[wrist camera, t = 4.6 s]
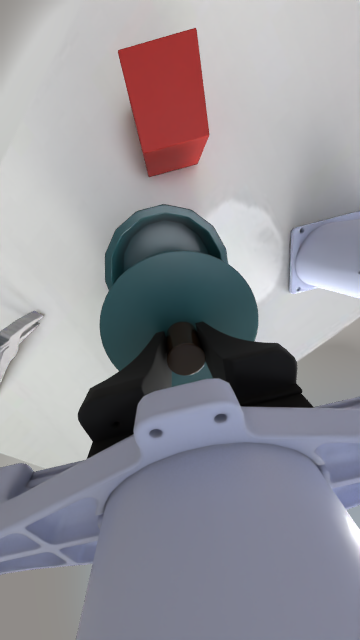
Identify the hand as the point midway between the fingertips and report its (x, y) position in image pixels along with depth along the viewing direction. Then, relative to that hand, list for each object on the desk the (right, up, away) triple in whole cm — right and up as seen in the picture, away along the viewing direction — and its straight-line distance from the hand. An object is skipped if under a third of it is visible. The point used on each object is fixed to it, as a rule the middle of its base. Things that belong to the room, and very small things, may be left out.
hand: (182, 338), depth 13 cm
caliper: (-24, -5, +12) cm, 27 cm away
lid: (0, 0, +1) cm, 1 cm away
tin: (-2, +8, +8) cm, 11 cm away
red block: (-1, +18, +3) cm, 19 cm away
